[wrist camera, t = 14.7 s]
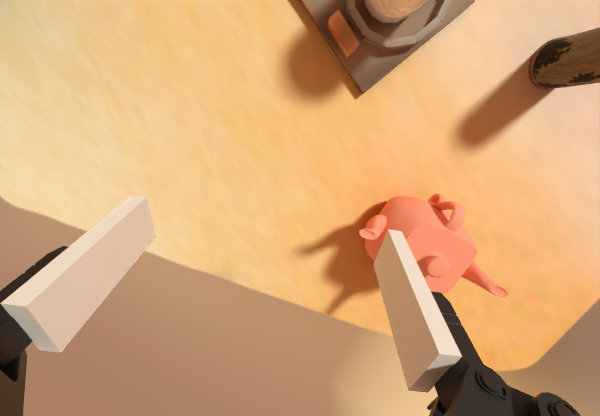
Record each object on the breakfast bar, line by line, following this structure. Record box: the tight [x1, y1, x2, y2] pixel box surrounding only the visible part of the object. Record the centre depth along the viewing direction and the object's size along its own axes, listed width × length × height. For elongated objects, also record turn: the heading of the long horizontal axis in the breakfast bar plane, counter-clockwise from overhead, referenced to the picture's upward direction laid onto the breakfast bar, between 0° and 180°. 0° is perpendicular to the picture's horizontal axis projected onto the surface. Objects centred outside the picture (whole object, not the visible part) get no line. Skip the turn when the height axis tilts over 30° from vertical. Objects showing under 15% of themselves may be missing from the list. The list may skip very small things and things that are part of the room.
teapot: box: [359, 194, 508, 297], centre depth 33 cm, size 14×14×11 cm
